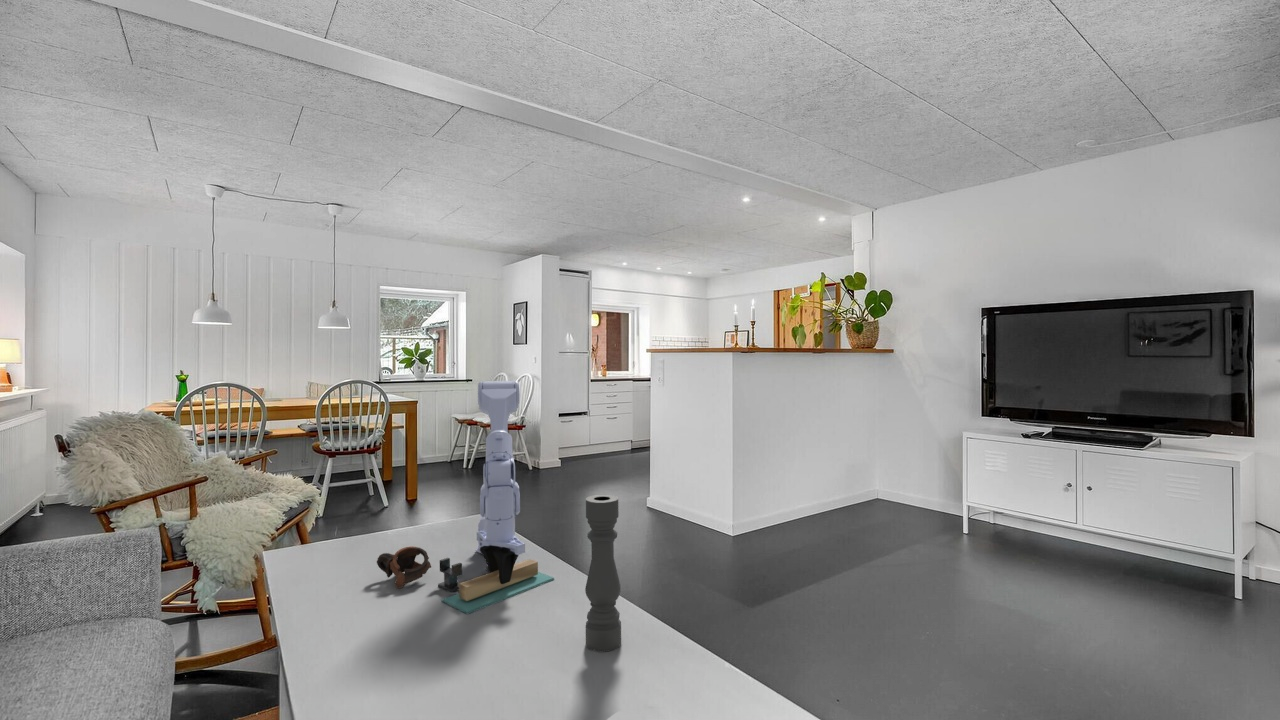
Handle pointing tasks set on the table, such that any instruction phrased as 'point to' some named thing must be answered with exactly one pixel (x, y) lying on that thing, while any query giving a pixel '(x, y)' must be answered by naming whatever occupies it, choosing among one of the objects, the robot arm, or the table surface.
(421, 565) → the pottery mug
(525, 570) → the oak bar
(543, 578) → the teal mat
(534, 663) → the table surface
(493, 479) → the robot arm
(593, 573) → the candle holder
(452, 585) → the hook standards
